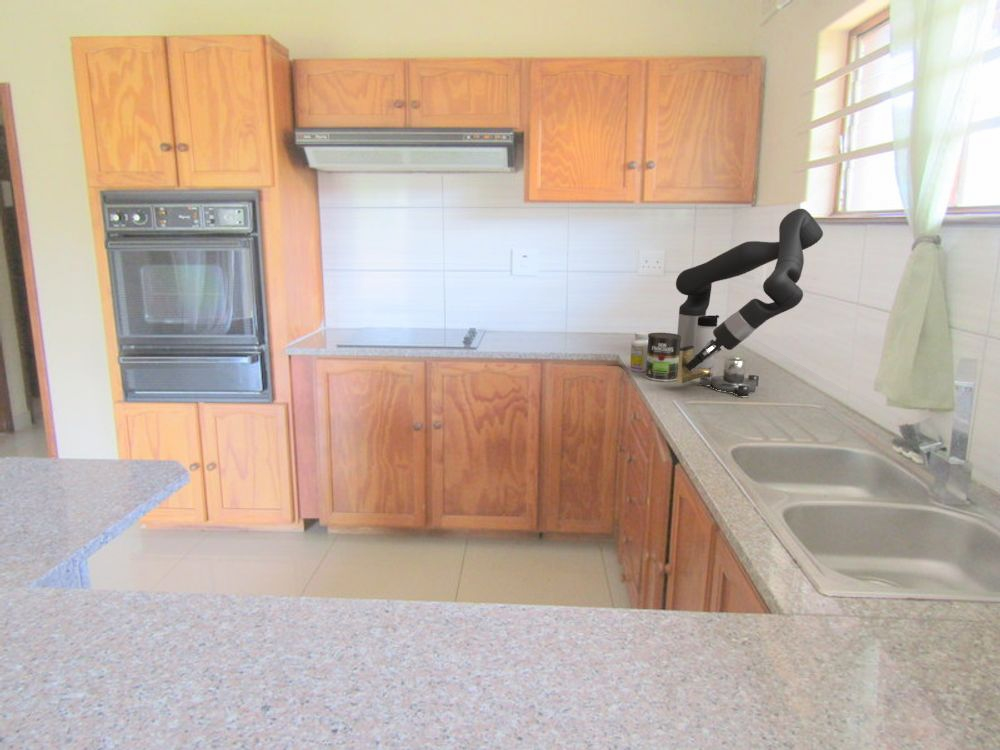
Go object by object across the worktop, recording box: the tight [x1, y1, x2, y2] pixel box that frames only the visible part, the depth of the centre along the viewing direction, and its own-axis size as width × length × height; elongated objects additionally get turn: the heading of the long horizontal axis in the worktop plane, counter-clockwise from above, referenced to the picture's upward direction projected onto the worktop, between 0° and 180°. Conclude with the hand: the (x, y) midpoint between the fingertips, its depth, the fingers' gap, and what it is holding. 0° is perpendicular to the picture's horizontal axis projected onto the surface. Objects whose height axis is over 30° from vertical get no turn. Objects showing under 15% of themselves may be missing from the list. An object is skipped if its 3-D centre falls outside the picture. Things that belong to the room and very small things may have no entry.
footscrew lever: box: [675, 346, 712, 384], centre depth 200 cm, size 17×4×10 cm, turn 135°
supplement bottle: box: [629, 331, 650, 373], centre depth 223 cm, size 7×7×13 cm
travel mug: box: [692, 314, 720, 377], centre depth 216 cm, size 6×7×20 cm
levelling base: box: [699, 355, 760, 397], centre depth 201 cm, size 19×16×10 cm
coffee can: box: [645, 332, 681, 383], centre depth 212 cm, size 10×10×14 cm
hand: (687, 368), depth 195 cm, fingers closed
